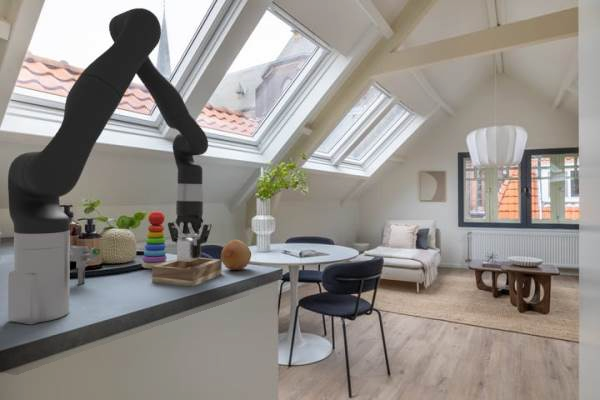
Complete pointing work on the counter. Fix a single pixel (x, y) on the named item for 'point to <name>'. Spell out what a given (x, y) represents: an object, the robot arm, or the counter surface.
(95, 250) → the mechanical component
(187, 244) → the white block
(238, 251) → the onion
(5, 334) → the counter surface
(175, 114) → the robot arm
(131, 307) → the counter surface
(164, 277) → the brown wooden tray
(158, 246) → the stacking toy
